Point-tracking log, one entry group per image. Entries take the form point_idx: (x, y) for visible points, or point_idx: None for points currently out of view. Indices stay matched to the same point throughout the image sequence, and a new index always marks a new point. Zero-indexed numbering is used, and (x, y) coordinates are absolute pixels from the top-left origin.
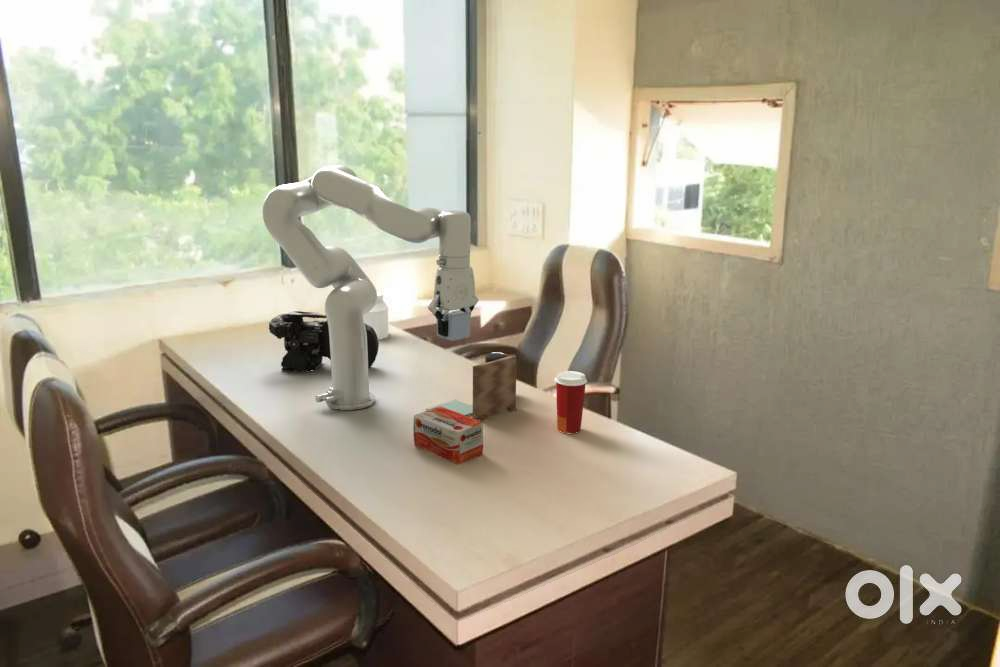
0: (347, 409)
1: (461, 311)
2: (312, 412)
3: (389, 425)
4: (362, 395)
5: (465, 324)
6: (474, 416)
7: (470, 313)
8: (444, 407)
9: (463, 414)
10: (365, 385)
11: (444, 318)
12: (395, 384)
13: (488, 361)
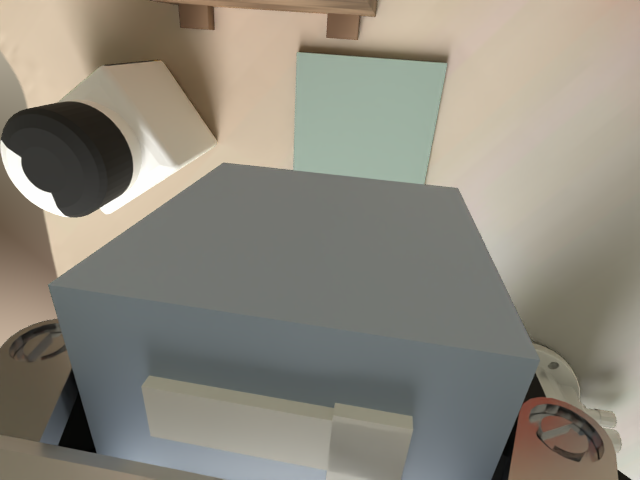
0: (566, 362)
1: (118, 447)
2: (625, 411)
3: (601, 200)
4: None
5: (239, 224)
6: (376, 3)
7: (17, 346)
8: (371, 168)
9: (377, 66)
10: None
11: (569, 440)
12: None
13: (113, 166)
